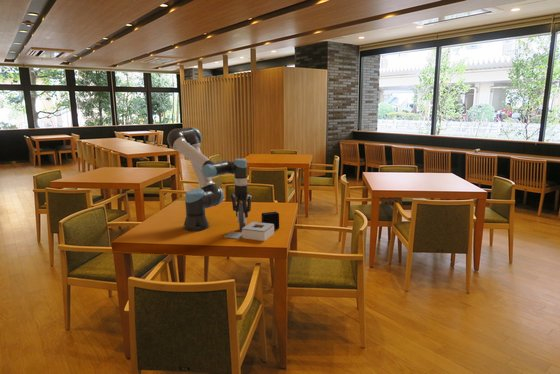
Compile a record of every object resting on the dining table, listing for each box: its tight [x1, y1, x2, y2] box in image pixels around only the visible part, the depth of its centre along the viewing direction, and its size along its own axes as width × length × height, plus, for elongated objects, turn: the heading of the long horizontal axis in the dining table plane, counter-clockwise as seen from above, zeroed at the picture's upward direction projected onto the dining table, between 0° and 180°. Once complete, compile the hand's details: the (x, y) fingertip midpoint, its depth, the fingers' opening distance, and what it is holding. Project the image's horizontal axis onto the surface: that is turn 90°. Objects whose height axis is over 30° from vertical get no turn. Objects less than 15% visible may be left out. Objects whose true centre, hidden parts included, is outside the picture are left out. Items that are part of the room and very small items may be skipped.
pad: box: [223, 231, 242, 240], centre depth 223 cm, size 9×9×1 cm
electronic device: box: [261, 211, 280, 230], centre depth 235 cm, size 4×10×10 cm, turn 111°
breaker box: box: [241, 221, 275, 242], centre depth 223 cm, size 14×14×6 cm
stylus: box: [238, 201, 246, 231], centre depth 233 cm, size 4×4×17 cm
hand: (242, 222), depth 234 cm, fingers closed on stylus, 3 cm apart
